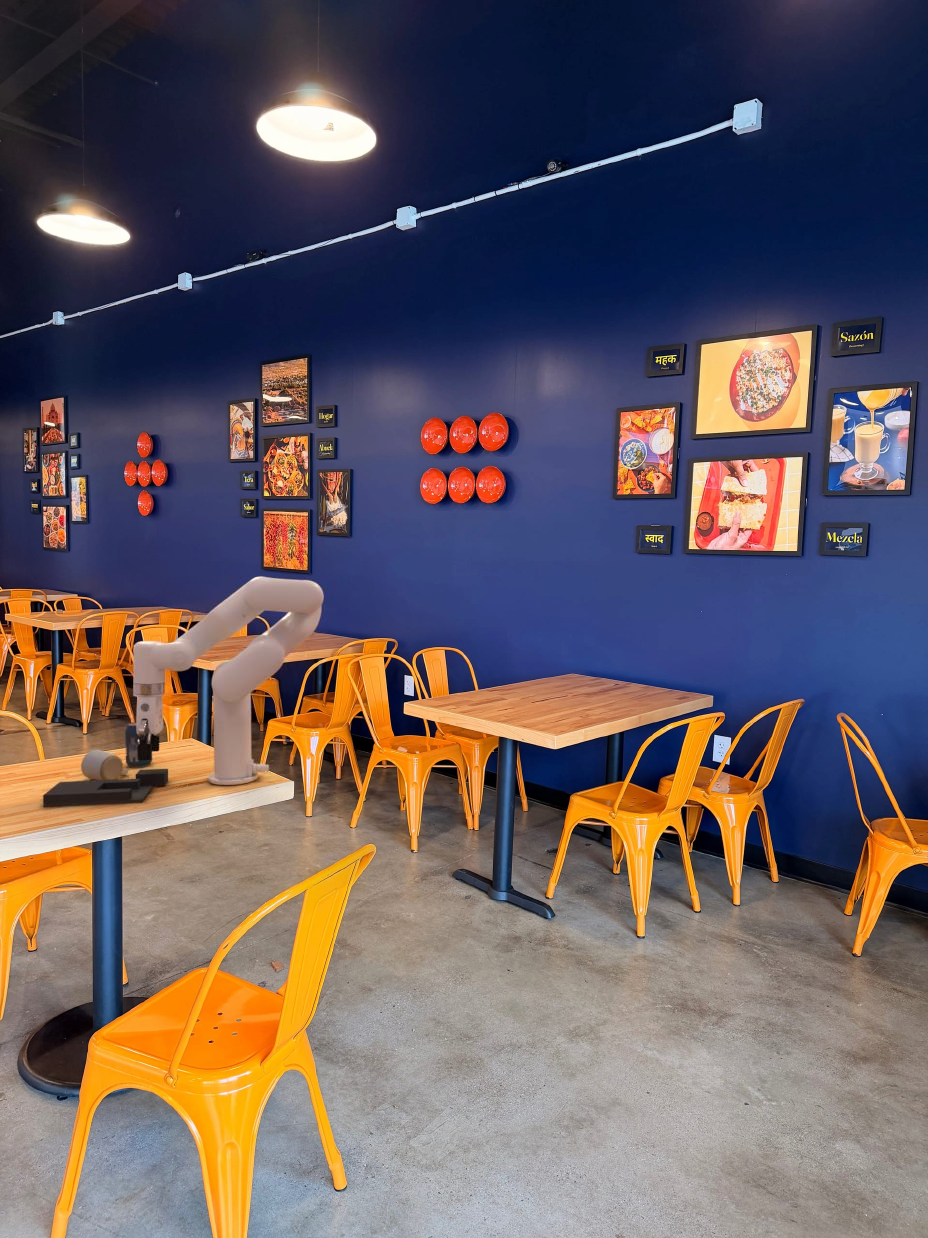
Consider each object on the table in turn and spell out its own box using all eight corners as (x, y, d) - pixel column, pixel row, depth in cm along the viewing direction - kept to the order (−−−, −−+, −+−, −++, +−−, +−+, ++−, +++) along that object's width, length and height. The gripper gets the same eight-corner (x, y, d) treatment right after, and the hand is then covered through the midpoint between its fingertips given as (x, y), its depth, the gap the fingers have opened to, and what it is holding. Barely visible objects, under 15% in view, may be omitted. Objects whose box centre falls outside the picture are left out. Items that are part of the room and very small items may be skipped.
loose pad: (168, 781, 209) (168, 768, 208) (164, 786, 204) (164, 773, 203) (140, 783, 207) (139, 769, 207) (135, 788, 202) (135, 774, 202)
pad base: (153, 788, 202) (152, 778, 202) (142, 802, 190) (142, 791, 190) (60, 793, 198) (59, 781, 198) (43, 807, 186) (42, 795, 186)
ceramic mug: (101, 785, 205) (101, 755, 204) (80, 781, 208) (80, 752, 208) (135, 776, 214) (135, 748, 214) (115, 773, 218) (115, 745, 217)
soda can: (150, 761, 231) (149, 720, 230) (154, 766, 225) (153, 724, 224) (124, 764, 227) (123, 722, 226) (127, 769, 221) (126, 726, 220)
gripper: (157, 694, 196) (157, 763, 197) (171, 684, 213) (170, 748, 214) (125, 694, 195) (124, 763, 196) (141, 684, 212) (140, 748, 213)
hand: (148, 755), depth 205 cm, fingers open, 9 cm apart
